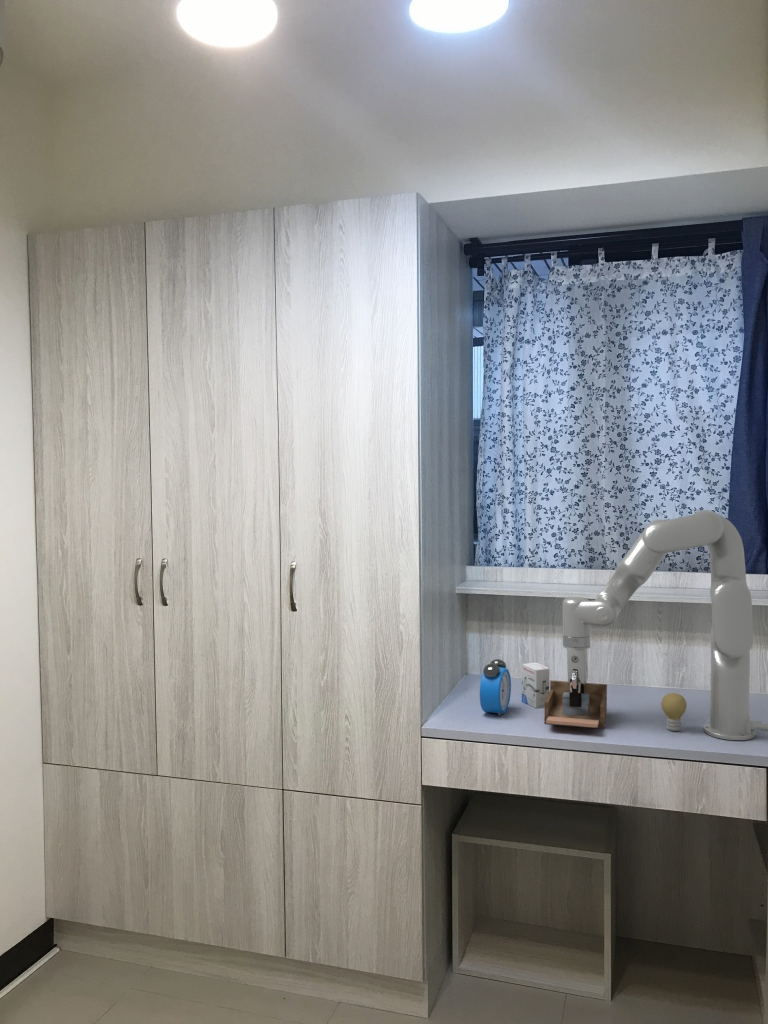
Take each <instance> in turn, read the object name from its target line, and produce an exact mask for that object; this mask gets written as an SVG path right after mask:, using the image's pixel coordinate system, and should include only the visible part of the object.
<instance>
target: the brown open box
mask: <svg viewBox="0 0 768 1024" xmlns="http://www.w3.org/2000/svg"><path fill="white" fill-rule="evenodd" d="M581 684H583V683H581ZM564 692H567V693H569V692H570V683H569V682H568V680H567V681H564V680H563V681H561V680H549V694H548V696H547V698H546V700H545V707H544V717H543V718H544V719H543V721H544V725H550V724H549V723H546V720H547V718H548V717H549V716H551V717H563V718H576V719H588V720H599V724H598V727H587V728H588V729H589V728H591V729H602V730H604V729H605V725H606V719H607V714H608V704H607V703H608V684H607V683H596V682H595V683H594V682H587V683H586V684H585V685H584V694H590V696H589V715H588V716H577V715H564V714H563V699H562V696H563V694H564ZM553 725H554V726H562V725H561V724H553ZM563 726H567V727H574V726H573V725H563ZM577 728H586V727H585V726H577Z"/></svg>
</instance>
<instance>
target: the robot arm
mask: <svg viewBox="0 0 768 1024" xmlns="http://www.w3.org/2000/svg"><path fill="white" fill-rule="evenodd" d="M705 546H706V547H707V549H708V553H709V562H710V563H709V564H710V589H709V590H710V591H709V596H710V597H709V598H710V602H711V606H710V607H711V624H712V625H711V628H710V706H709V707H710V710H709V711H710V713H709V714H710V716H709V717H710V719H709V720H710V721H709V723H706V724H704V726H703V731H704V733H706V734H707V735H709V736H711V737H714V738H718V739H721V740H726V741H727V740H729V741H748V740H752V739H754V738H755V737H756V730H758V731H759V730H760V731H767V732H768V723H767V722H763V721H762V720H753V719H751V716H750V678H751V649H752V647H753V643H754V628H753V627H754V622H753V621H754V620H753V600H752V599H753V598H752V594H751V590H750V588H749V586H748V583H747V575H746V574H747V573H746V570H747V569H746V559H745V550H744V544H743V539H742V537H741V534H740V533H739V531H738V529H737V528H736V526H735V525H734V524H733V523H732V522H731V521H730V520H729V519H727V518H726V517H724V516H723V515H721V514H719V513H717V512H715V511H712V510H708V509H702V510H698V511H695V512H694V513H693V514H690V515H685V516H681V517H680V516H679V517H677V518H675V517H674V518H670V519H655V520H652V521H651V522H649V523H648V524H647V525H646V526H645V528H644V529H643V530H642V532H641V533H640V535H639V536H638V537H637V538H636V540H635V542H634V543H633V544H632V546H631V547H630V548H629V550H628V551H627V553H626V554H625V555H624V557H622V559H621V561H620V562H619V564H618V566H617V568H616V570H615V572H614V573H613V575H612V576H611V577H610V579H609V580H608V582H607V583H606V584H605V586H604V587H603V588H602V590H601V591H600V592H599V593H598V595H597V596H596V598H595V599H593V600H589V599H588V598H586V597H581V596H569V597H566V598H564V599H562V647H563V648H565V649H566V659H567V660H566V664H567V666H566V667H567V682H569V683H570V692H569V697H570V707H581V706H582V694H584V685H585V684H586V683H588V678H589V672H588V671H589V667H588V649H591V626H597V627H602V628H603V627H610V626H611V625H613V624H615V622H616V620H617V619H618V616H619V614H620V613H621V611H622V610H623V609H624V607H625V605H626V604H627V603H628V602H629V600H630V599H631V597H632V596H633V595H634V594H635V592H636V591H637V590H638V589H639V588H640V587H641V586H643V585H644V584H646V583H647V581H648V580H649V578H650V577H651V576H652V574H653V573H654V571H656V569H657V567H658V566H659V565H661V562H662V561H663V559H664V558H665V557H666V555H667V554H668V553H674V552H680V551H684V550H689V549H693V548H700V547H705ZM581 683H583V684H581ZM581 693H582V694H581Z"/></svg>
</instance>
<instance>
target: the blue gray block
mask: <svg viewBox="0 0 768 1024" xmlns="http://www.w3.org/2000/svg"><path fill="white" fill-rule="evenodd" d="M581 694H582V693H581ZM589 696H590V694H582V706H581V707H570V697H569V693H567V692H564V694H563V696H562V699H563V714H564V715H577V716H588V715H589Z"/></svg>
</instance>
